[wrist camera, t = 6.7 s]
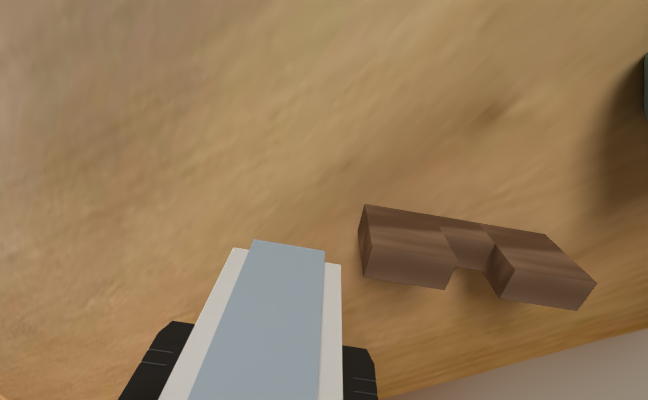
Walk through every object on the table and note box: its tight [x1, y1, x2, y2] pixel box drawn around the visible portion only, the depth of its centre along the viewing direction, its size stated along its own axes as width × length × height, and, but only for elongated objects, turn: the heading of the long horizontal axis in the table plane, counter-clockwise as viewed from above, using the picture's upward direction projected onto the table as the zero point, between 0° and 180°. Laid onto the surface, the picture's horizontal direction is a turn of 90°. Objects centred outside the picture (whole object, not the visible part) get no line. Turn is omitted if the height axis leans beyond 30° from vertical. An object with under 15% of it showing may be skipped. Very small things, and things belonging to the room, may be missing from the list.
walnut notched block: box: [358, 204, 597, 311], centre depth 28 cm, size 3×18×7 cm, turn 80°
